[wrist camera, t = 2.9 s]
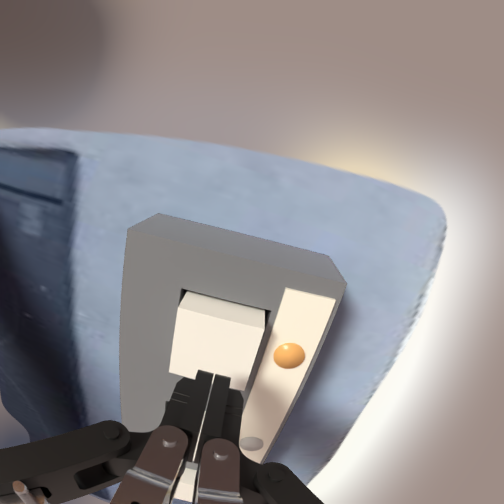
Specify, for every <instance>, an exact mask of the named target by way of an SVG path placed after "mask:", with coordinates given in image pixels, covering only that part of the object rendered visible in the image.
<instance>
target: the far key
mask: <svg viewBox="0 0 504 504" xmlns="http://www.w3.org/2000/svg"><path fill="white" fill-rule="evenodd" d="M196 472H197V470H193V469H189V468H185V471H184V473H183V474H182V477H181V480H180V483H179V485H178V488H177V491H176V493H175V496H174V498H177V499H181V500H185V501H189V502H192V497H193V488H194V481H195V476H196Z"/></svg>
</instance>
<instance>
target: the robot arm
mask: <svg viewBox="0 0 504 504" xmlns="http://www.w3.org/2000/svg"><path fill="white" fill-rule="evenodd" d="M213 376H214V373H211V372H207V371H203V370H199V369H198V371H197V374H196V377H195V380H193V379H190V378H186V377H183V378H182V379H181V380H180V381H178V382H177V383H176V386H175V388H174V391H173V393H172V396H171V399H170V401H169V403H168V406H167V408H166V411H165V413H164V416H163V418H162V421H161V423H160V425H159V426H158V427H157V428H156V429H154V430H153V431H150V432H129V431H128V429H127V428H126V427H125V426H124V425H123V424H121V423H119V422H116V421H112V420H108V421H103V422H100V423H97V424H94V425H91V426H87V427H84V428H81V429H78V430H75V431H71V432H68V433H64V434H61V435H57V436H54V437H50V438H46V439H43V440H39V441H35V442H31V443H27V444H23V445H18V446H14V447H9V448H5V449H0V504H60V503H63V502H66V501H70V500H73V499H76V498H79V497H82V496H85V495H88V494H90V493H93V492H96V491H99V490H101V489H104V488H106V487H109V486H111V485H114V484H116V483H119V482H121V483H120V485H119V487H118V489H117V491H116V493H115V494H114V496H113V498H112V500H111V502H110V504H172V501H173V498H174V496H175V493H176V491H177V488H178V485H179V483H180V480H181V477H182V474H183V473H184V471H185V468H186V464H187V461H188V462H192V461H193V457H194V453H195V449H196V445H197V441H198V437H199V433H200V429H201V425H202V421H203V417H204V413H205V409H206V405H207V401H208V397H209V393H210V388H211V384H212V380H213ZM230 381H231V377H227V376H223V375H219V374H215V377H214V381H213V385H212V389H211V393H210V397H209V401H208V405H207V409H206V413H205V417H204V421H203V425H202V429H201V433H200V438H199V442H198V446H197V450H196V455H195V459H194V463H196V464H198V468H197V472H196V476H195V481H194V488H193V497H192V504H324V503H323V502H322V501H321V500H319V498H318V497H316V496H315V495H314V494H313V493H312V492H311V491H310V490H309V489H308V488H307V487H306V486H305V485H304V484H303V483H302V482H301V481H300V480H299V478H298V477H297V476H296V475H295V474H294V473H293V472H292V471H291V470H290V469H289V468H288V467H286V466H285V465H283V464H280V463H276V462H270V463H266V464H263V465H262V464H259V463H257V462H255V461H252V460H250V459H249V458H247V457H246V456H245V455H244V454H243V453H242V452H241V450H240V447H239V438H240V429H241V421H242V412H243V403H244V399H243V396H242V394H241V392H240V391H238V390H234V389H230V388H229V387H230Z"/></svg>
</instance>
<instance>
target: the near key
mask: <svg viewBox="0 0 504 504" xmlns="http://www.w3.org/2000/svg"><path fill="white" fill-rule="evenodd" d="M264 329H265V309H262V308H258V307H253V306H249V305H245V304H241V303H237V302H233V301H229V300H225V299H221V298H217V297H213V296H209V295H205V294H201V293H198V292H194V291H190V290H188V291H187V292H186V294H185V296H184V298H183V299H182V301H181V303H180V305H179V306H178V310H177V317H176V323H175V330H174V337H173V344H172V352H171V360H170V367H169V372H170V373H174V374H177V375H181V376H184V377H188V378H192V379H195V377H196V374H197V371H198V369H199V370H203V371H207V372H211V373H214V376H213V380H212V384H213V381H214V377H215V374H219V375H223V376H227V377H231V381H230V387H229V388H233V389H237V390H242V391H244V390H245V387H246V384H247V381H248V378H249V375H250V372H251V369H252V366H253V363H254V360H255V357H256V354H257V351H258V348H259V345H260V342H261V339H262V336H263V333H264Z"/></svg>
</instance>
